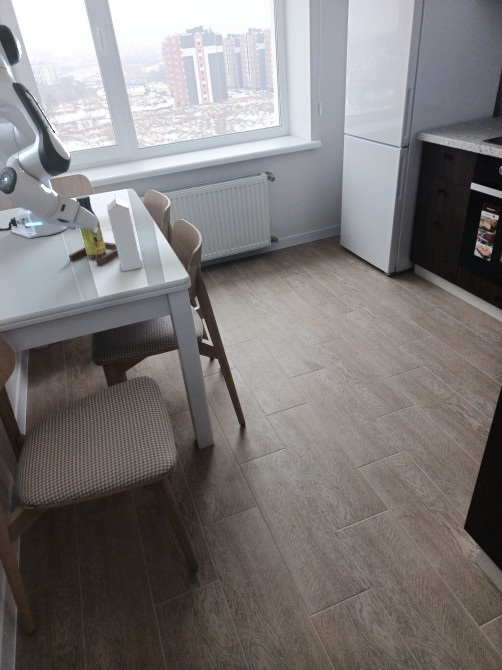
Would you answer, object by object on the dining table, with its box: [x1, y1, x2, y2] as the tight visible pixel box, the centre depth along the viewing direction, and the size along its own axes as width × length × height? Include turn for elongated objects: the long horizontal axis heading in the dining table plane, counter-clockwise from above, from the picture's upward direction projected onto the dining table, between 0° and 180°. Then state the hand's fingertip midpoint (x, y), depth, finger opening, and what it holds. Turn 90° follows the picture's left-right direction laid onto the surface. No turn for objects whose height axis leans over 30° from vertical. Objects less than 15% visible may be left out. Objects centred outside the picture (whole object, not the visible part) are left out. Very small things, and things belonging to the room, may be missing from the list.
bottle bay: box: [68, 241, 119, 267], centre depth 157 cm, size 13×13×2 cm
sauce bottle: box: [75, 194, 107, 261], centre depth 152 cm, size 7×6×20 cm
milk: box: [106, 195, 142, 272], centre depth 143 cm, size 6×6×22 cm
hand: (85, 229), depth 151 cm, fingers open, 8 cm apart
